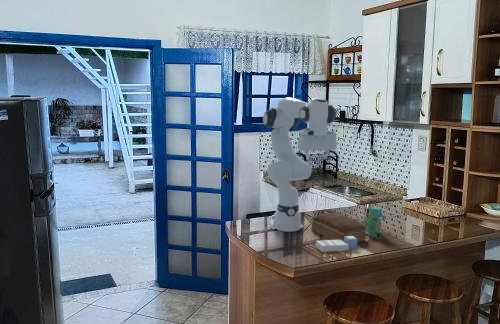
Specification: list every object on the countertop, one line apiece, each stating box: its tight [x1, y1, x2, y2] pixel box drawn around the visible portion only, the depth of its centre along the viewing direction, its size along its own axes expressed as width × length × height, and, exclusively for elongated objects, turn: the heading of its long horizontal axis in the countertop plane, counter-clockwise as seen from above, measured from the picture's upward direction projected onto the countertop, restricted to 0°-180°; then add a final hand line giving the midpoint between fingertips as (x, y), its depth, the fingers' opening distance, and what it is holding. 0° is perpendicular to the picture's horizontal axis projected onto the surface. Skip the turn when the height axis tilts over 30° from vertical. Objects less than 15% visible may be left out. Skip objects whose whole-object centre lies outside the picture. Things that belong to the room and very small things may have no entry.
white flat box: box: [315, 239, 349, 253], centre depth 225 cm, size 8×14×3 cm, turn 103°
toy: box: [364, 206, 386, 238], centre depth 249 cm, size 10×10×15 cm
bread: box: [311, 212, 367, 243], centre depth 247 cm, size 17×29×11 cm, turn 28°
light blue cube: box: [344, 236, 358, 250], centre depth 227 cm, size 5×5×5 cm
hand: (316, 159), depth 222 cm, fingers open, 8 cm apart
